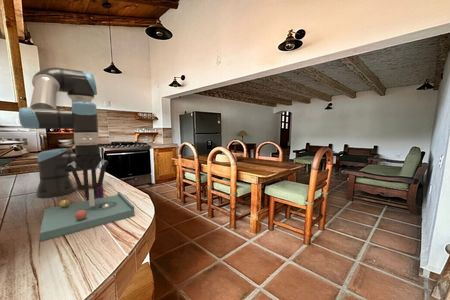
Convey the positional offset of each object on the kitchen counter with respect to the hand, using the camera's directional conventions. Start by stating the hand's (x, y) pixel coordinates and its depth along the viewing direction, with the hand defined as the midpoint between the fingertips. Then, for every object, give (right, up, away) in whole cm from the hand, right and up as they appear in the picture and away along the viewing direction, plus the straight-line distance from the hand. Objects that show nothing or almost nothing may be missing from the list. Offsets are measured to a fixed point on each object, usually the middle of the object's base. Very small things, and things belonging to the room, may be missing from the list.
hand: (91, 205), depth 74 cm
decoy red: (+3, -1, -9) cm, 10 cm away
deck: (-1, -4, 0) cm, 4 cm away
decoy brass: (-12, 0, +1) cm, 12 cm away
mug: (-10, -3, +17) cm, 20 cm away
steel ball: (+4, -2, +3) cm, 5 cm away
